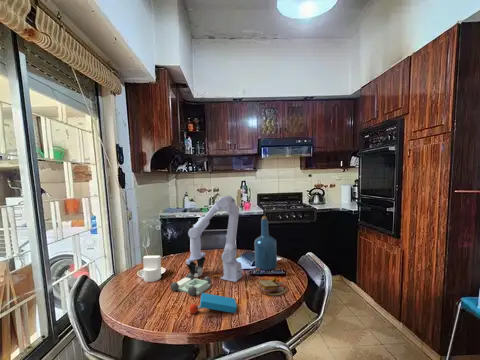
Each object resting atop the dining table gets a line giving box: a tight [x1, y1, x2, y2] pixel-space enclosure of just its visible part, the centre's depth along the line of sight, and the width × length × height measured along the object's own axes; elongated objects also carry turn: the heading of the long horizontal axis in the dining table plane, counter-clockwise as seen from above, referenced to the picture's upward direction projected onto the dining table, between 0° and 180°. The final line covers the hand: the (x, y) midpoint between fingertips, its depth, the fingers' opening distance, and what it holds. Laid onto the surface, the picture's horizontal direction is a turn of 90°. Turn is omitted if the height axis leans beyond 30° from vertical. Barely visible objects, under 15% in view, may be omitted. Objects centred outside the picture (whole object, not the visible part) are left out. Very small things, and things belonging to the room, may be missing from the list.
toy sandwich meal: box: [258, 276, 288, 297], centre depth 111 cm, size 12×14×5 cm
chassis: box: [170, 272, 212, 297], centre depth 116 cm, size 16×13×4 cm
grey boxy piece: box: [194, 264, 203, 278], centre depth 131 cm, size 4×4×5 cm
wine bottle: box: [253, 215, 278, 271], centre depth 140 cm, size 14×13×30 cm
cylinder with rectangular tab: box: [142, 255, 162, 283], centre depth 129 cm, size 9×9×12 cm
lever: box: [189, 292, 237, 315], centre depth 96 cm, size 7×7×18 cm
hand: (196, 272), depth 131 cm, fingers open, 6 cm apart
